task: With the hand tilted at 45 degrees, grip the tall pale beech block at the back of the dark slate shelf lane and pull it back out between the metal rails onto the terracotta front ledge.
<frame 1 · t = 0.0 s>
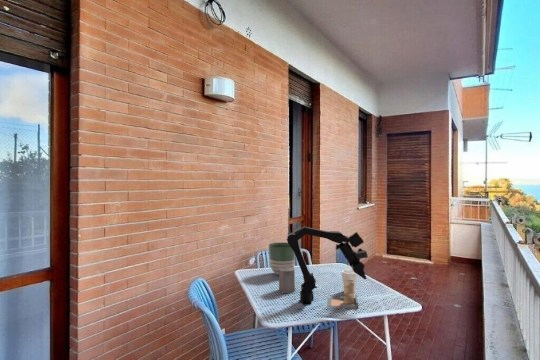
hand: (363, 276, 175), 15 cm above the table, tool tilted 35°, fingers open, 9 cm apart
shelf lane: (342, 305, 173), on the table
foam cup: (349, 293, 191), on the table
beech block: (349, 303, 172), point 1 cm above the table, touching shelf lane
pillar candle: (286, 291, 197), on the table
planter: (282, 274, 232), on the table
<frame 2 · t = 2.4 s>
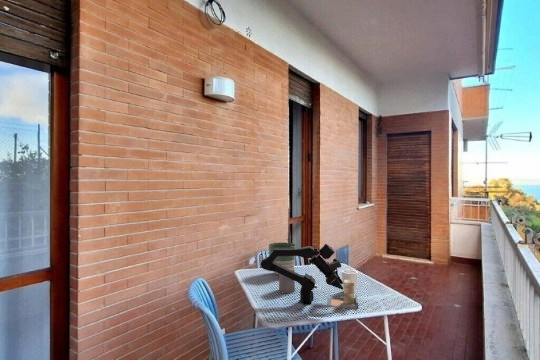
hand: (342, 286, 173), 10 cm above the table, tool tilted 45°, fingers open, 9 cm apart
nothing on the table moved.
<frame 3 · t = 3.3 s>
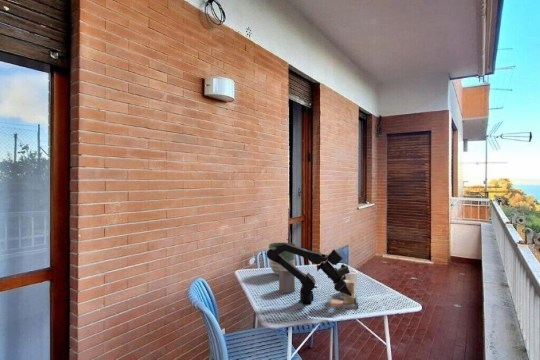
hand: (351, 292, 172), 7 cm above the table, tool tilted 45°, fingers open, 9 cm apart
nothing on the table moved.
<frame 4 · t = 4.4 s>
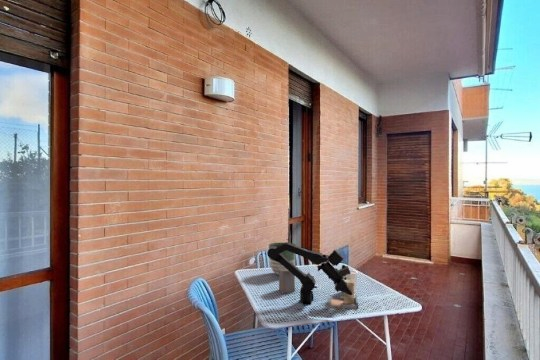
hand: (351, 293, 172), 7 cm above the table, tool tilted 45°, fingers closed on beech block, 5 cm apart
beech block: (349, 303, 172), point 1 cm above the table, touching gripper, shelf lane
everything else where it was.
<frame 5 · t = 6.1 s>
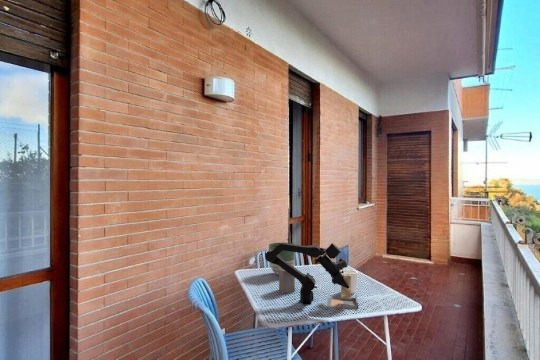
hand: (348, 286, 172), 10 cm above the table, tool tilted 45°, fingers closed on beech block, 5 cm apart
beech block: (345, 296, 173), point 5 cm above the table, touching gripper
everything else where it was.
when the fingers open (8 cm above the table, at t = 7.8 s): beech block drops 1 cm, resting on shelf lane.
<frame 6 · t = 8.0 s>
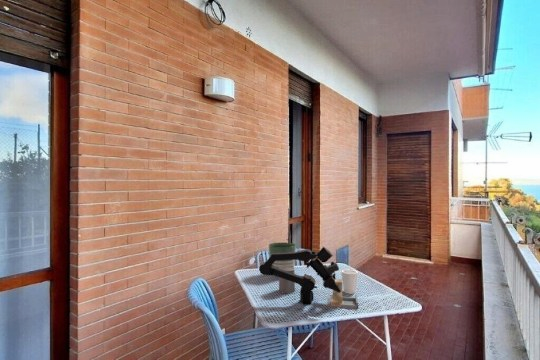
hand: (340, 289, 173), 8 cm above the table, tool tilted 45°, fingers open, 7 cm apart
beech block: (337, 302, 173), point 1 cm above the table, touching shelf lane
everything else where it was.
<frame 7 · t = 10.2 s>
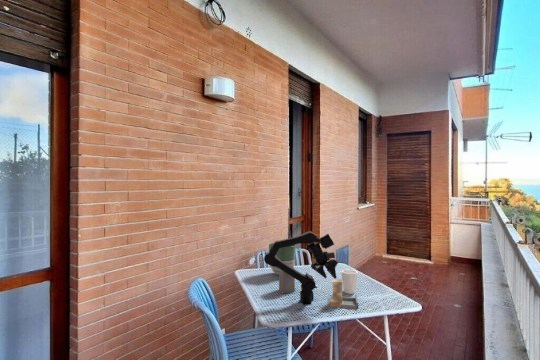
hand: (330, 278, 177), 14 cm above the table, tool tilted 25°, fingers open, 9 cm apart
nothing on the table moved.
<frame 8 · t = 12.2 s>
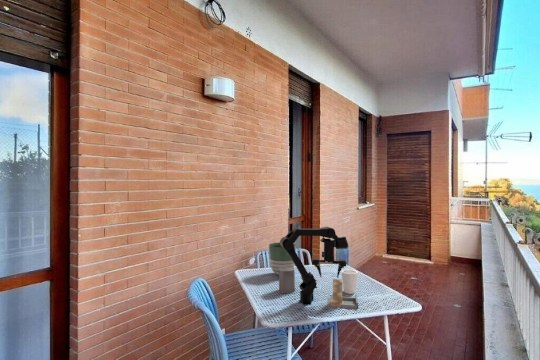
hand: (329, 277, 180), 13 cm above the table, tool pointing down, fingers open, 9 cm apart
nothing on the table moved.
at the end: beech block 0.3 cm from the target spot on the shelf lane, point 1.0 cm above the shelf lane's base; beech block tilted 0°; the gripper is holding nothing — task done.
